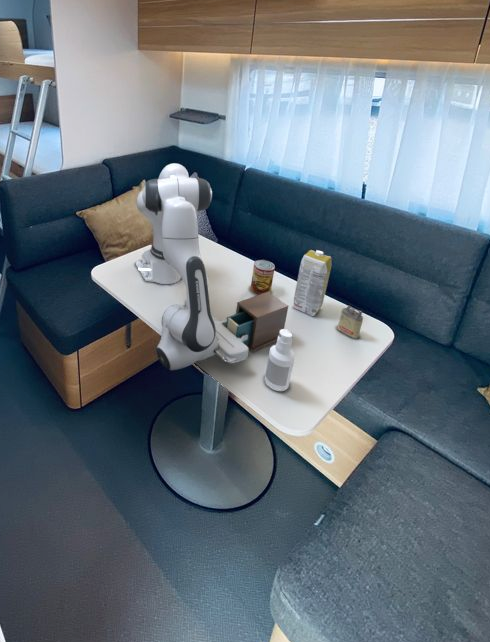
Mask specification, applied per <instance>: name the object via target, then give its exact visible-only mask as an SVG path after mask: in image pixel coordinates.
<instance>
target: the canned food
mask: <svg viewBox="0 0 490 642" xmlns="http://www.w3.org/2000/svg"><path fill="white" fill-rule="evenodd" d="M275 269H276V267H275V264H274V263H273V262H271V261H269V260H265V259H257V260H255V261H254V262H253V268H252V276H251V283H250V291H251V293H252V294H254V295H255V296H257V295H260V294H263V293H266V292H269V293H271V292H272V286H273V282H274V281H273V280H274V276H275V275H274V273H275ZM271 294H272V293H271Z"/></svg>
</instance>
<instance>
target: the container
mask: <svg viewBox="0 0 490 642" xmlns="http://www.w3.org/2000/svg"><path fill="white" fill-rule="evenodd" d="M225 321H226V328H227V329H228V330H229V331H230V332H231V333H232V334H233V335H235V336H236V337H237V338H241V334H243V333H246V334H247V335H248V339H247V340H245V341H244V342H243V343H244V344H245V345H249V344H250V341H251V335H252V329H253V322H254V318H253V317H252V316H251V315H249V314H248V313H247V312H246V311H243V312H240V313H237V314H236V313H235V314H232V315H229V316H227V317H226V320H225Z"/></svg>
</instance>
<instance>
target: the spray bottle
mask: <svg viewBox="0 0 490 642" xmlns="http://www.w3.org/2000/svg"><path fill="white" fill-rule="evenodd" d="M292 343H293V334H292V332H291V330H289V329H286V328H284V329H281V330H280V333H279V336H278V339H277V341H276V342H275V344H273V345H272V346H271V347H270V348H269V353H268V359H267V363H266V369H265V374H264V381H265V384H266V386H267V387H268V388H269V389H271V390H273V391H276V392H283V391H287V390H288V389H289V387H290V382H291V377H292V372H293V367H294V362H295V358H296V357H295V355H296V354H295V352H294V351H293V350H292Z"/></svg>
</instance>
